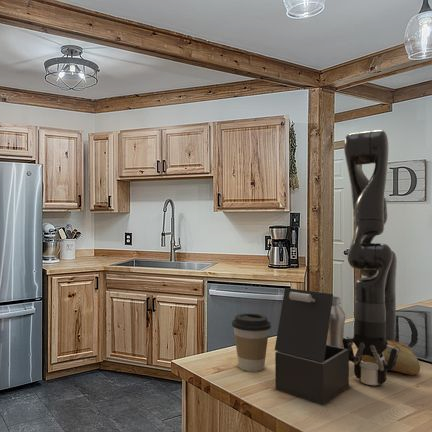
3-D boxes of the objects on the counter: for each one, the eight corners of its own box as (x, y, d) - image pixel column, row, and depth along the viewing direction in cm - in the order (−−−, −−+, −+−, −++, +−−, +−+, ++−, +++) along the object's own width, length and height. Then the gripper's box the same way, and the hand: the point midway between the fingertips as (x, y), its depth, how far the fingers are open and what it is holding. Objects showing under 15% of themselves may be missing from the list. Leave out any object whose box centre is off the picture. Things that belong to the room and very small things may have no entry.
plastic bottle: (348, 367, 127) (348, 300, 127) (324, 366, 128) (324, 299, 128) (343, 360, 133) (342, 295, 133) (319, 358, 134) (319, 295, 134)
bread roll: (365, 359, 134) (365, 333, 134) (422, 370, 124) (422, 342, 124) (358, 367, 126) (358, 340, 126) (417, 380, 117) (417, 351, 117)
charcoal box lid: (286, 288, 116) (276, 284, 112) (333, 294, 107) (324, 290, 103) (275, 350, 112) (266, 348, 109) (323, 362, 103) (314, 360, 100)
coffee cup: (278, 366, 128) (277, 316, 128) (259, 377, 120) (259, 324, 120) (244, 357, 136) (243, 310, 136) (224, 367, 127) (224, 317, 127)
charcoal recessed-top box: (303, 373, 123) (303, 339, 123) (348, 386, 114) (348, 349, 113) (275, 389, 112) (275, 352, 112) (323, 405, 103) (323, 364, 103)
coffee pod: (357, 377, 118) (357, 361, 118) (378, 379, 117) (378, 362, 117) (361, 384, 114) (361, 367, 114) (382, 386, 112) (382, 369, 112)
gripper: (404, 319, 112) (404, 384, 113) (347, 310, 123) (347, 369, 123) (395, 325, 107) (395, 393, 108) (336, 315, 118) (337, 377, 118)
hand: (370, 380), depth 115 cm, fingers closed on coffee pod, 5 cm apart
